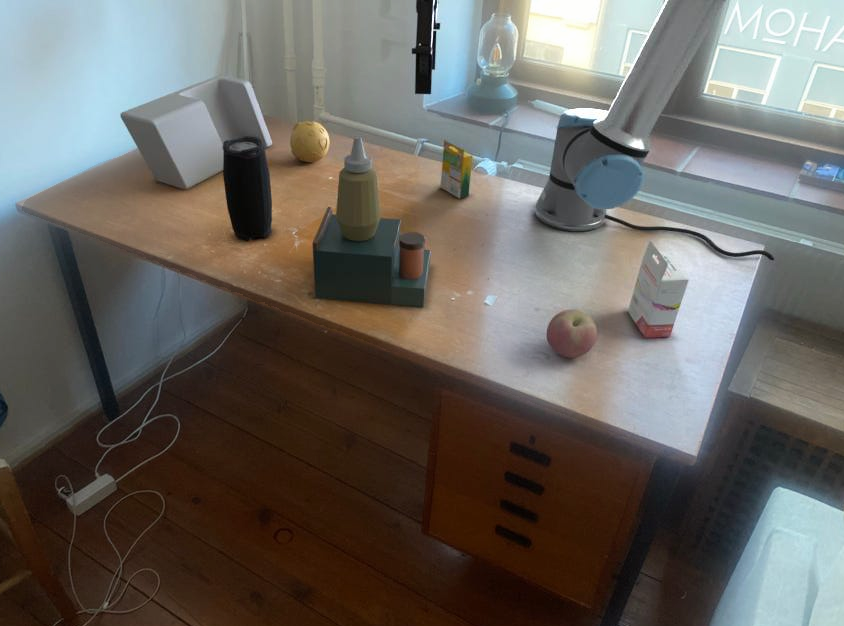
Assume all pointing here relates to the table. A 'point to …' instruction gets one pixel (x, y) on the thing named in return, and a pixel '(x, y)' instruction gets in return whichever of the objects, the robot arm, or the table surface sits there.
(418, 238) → the spice jar
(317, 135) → the stress ball
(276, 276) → the table surface
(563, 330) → the apple
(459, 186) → the crayon box
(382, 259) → the dark green stepped block
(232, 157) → the portable speaker
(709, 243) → the robot arm
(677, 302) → the ink cartridge box
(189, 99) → the bracket
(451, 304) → the table surface
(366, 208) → the squeeze bottle
